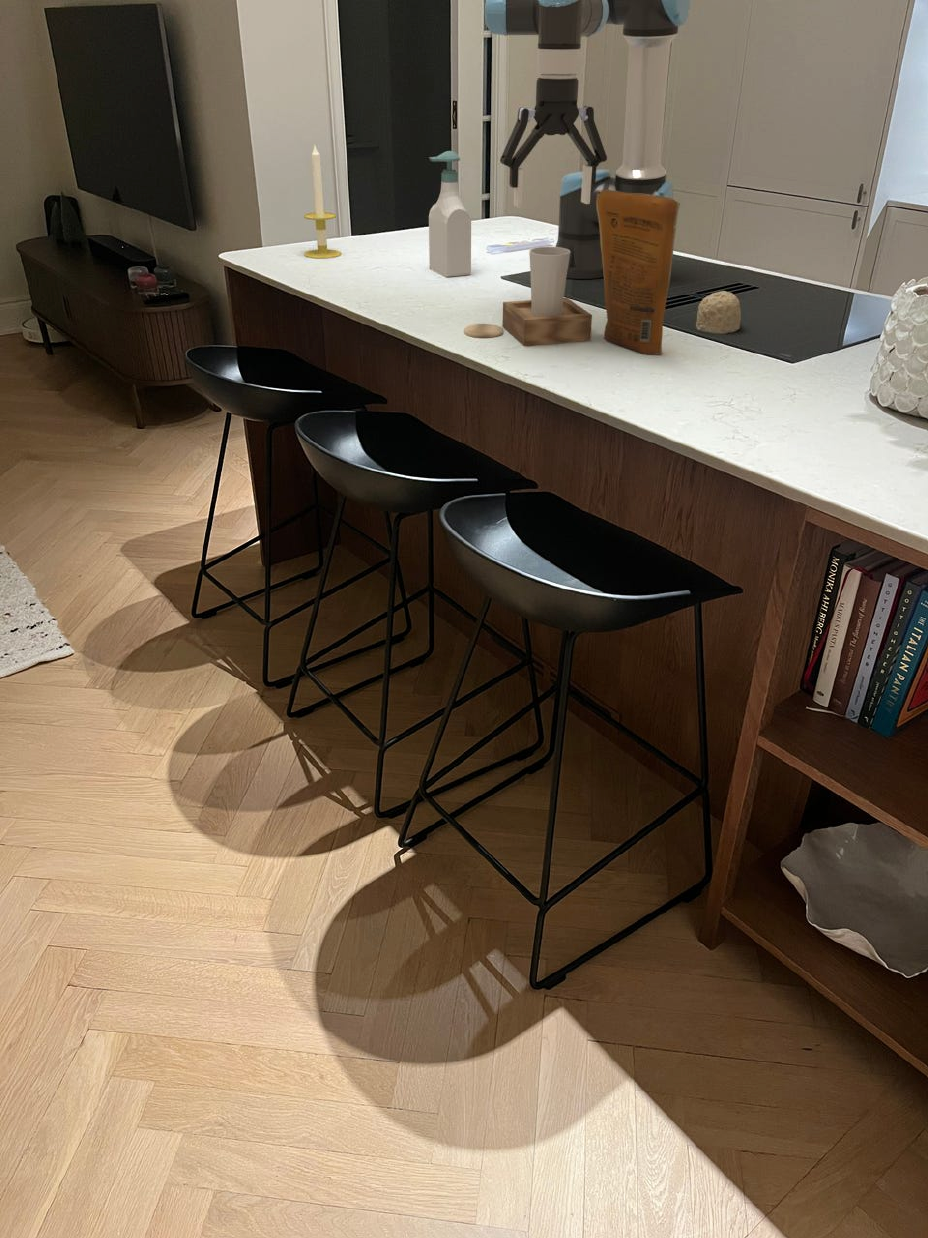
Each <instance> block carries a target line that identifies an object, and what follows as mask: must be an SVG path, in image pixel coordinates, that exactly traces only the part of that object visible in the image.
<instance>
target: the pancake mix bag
mask: <svg viewBox="0 0 928 1238" xmlns="http://www.w3.org/2000/svg"><path fill="white" fill-rule="evenodd" d="M596 206H597V213H598V219H599V228H600V242H601V251H602V262H603V273H604V277H603V283H604V302H605V310H606V319H607V321H606V324H605V328H604V334H603V336H604V337H603V339H604V341H606V342H608V343H611V344H615V345H617V346H620V347H624V348H626V349H629V350H631V351H633V352H636V353H639V354H642V355H643V354H644V355H663V334H664V333H663V330H664V329H663V328H664V327H663V325H664V324H663V323H664V319H665V318H664V317H665V312H666V307H667V306H666V305H667V304H666V303H667V299H668V292H669V286H670V282H671V275H672V274H671V273H672V263H673V258H674V255H673V254H674V245H675V239H676V234H677V233H676V232H677V224H678V223H677V222H678V216H679V215H678V214H679V210H680V206H681V203H680V202H678V201H676V200H675V199H674V198H673V199H671V198H667V197H662V196H656V195H649V194H640V193H624V192H619V191H612V190H602V191H601V193H600V195H599V194H597V200H596Z"/></svg>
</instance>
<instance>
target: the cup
mask: <svg viewBox="0 0 928 1238" xmlns="http://www.w3.org/2000/svg"><path fill="white" fill-rule="evenodd" d="M528 255H529V268H530V273H529V274H530V294H531V296H530V300H531V314H532V315H534V316H537V317H544V316H557V315H562V312H563V299H564V298H565V290H566V284H567V278H566V276H567V269H568V265H569V258H570V250H568V249H565V248H560V247H555V246H537V247H532V248H531V249H529V253H528Z"/></svg>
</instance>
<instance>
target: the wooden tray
mask: <svg viewBox="0 0 928 1238" xmlns="http://www.w3.org/2000/svg"><path fill="white" fill-rule="evenodd" d="M592 320H593V314H592V313H590V312H588V311H587V310H586V309H584V308H583V307H581V306H580V305H578V304H576V303H575V302H574V301H573V300H571V299H570V298H569V297H564V299H563V312H562V315H557V316H544V317H537V316H534V315H532V314H531V299H528V300H527V299H525V300H512V301H503V302H502V323H501V324H502V326H501V327H502V328H503V329H504V330H505V331H507V333H509V334H510V335H511V336H512V337H514V339H516V340H517V341H518V342H519V343H520V345H522V346H523V347H524V346H526V347H528V346H539V345H551V344H564V343H575V342H577V343H578V342H588V341H591V336H592V322H593V321H592Z"/></svg>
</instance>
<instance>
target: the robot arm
mask: <svg viewBox="0 0 928 1238" xmlns="http://www.w3.org/2000/svg"><path fill="white" fill-rule="evenodd" d="M690 5H691V0H485V6H484V17H485V18H484V20H485V25H486V27H487V28H488V31H489V32H490V33H491V34H492V35H499V36H504V37H507V36H537V38H538V39H537V41H538V42H537V59H536V60H537V62H536V63H537V64H536V73H537V74H538V75H539V76H540V77H538V78H537V79H536V83H535V106H534V109H528V108H524V107H520V108H518V111H517V119H516V122H515V125H514V127H513V129H512V131H511V134H510V136H509V139H508V140H507V143H506V145H505V147H504V150H503V152H502V154H501V157H500V159H499V161H500V164H502V165H504V166H506V167H508V168H509V187H511V188H512V189H513V206H514V207H516V208H518V209H519V208H522V207H523V190H524V189H523V185H524V184H523V183H524V169H523V168H521V167H520V166H522V164H523V163H524V161H525V160H526V159H527V158H528V155H530V153H531V152H532V150H533V149H534V148H535V147H536V145H537V144H538V142H540V141H539V140H541V139H543V137H544V136H545V135H547V136H556V135H560V136H565V135H567V136H568V137H570V139H571V141H572V143H573V144H574V145H575V147H576V148H577V149H578V151H579V153H580V154H581V155H582V157H583V158H584V160H585V162H586V163H587V164H583V165H582V171H577V172H576V171H575V172H571V173H568V174H565V175H564V176H563V177H562V180H561V182H560V183H561V184H560V190H559V191H560V193H559V207H558V208H559V209H558V226H557V227H558V228H557V229H558V230H557V231H558V232H557V233H558V234H557V241H556V244H555V246H554V247H560V248H565V249H568V250H570V258H569V265H568V269H567V276H566V279H576V280H589V279H592V280H593V279H600V278H604V273H603V262H602V251H601V242H600V228H599V219H598V213H597V206H596V200H597V194H599V195H600V193H601V191H602V190H612V191H619V192H624V193H640V194H649V195H656V196H662V197H667V198H671V199H674V184H673V182H670V180H667V170H666V169H665V167H664V166H662V164H661V162H662V161H661V159H662V148H663V147H662V146H663V135H664V134H663V133H664V123H665V108H666V95H667V86H668V85H667V84H668V69H669V60H670V58H669V57H670V46H671V45H670V44H671V43H672V42H673V40H674V39H675V38H676V37H677V36H678V35H679V27H680V26H683V25H684V24H686V22H687V20H688V17H689V10H690ZM605 25H616V26H617V25H619V26H621V25H622V37H623V38H624V39H625V41H626V42H627V43H628V45H629V47H628V61H627V62H628V65H627V66H628V67H627V80H626V81H627V83H626V96H625V97H626V98H625V99H626V101H625V102H626V103H625V117H624V136H623V137H624V139H623V152H622V153H623V155H622V164H621V165H620V166H619V168H617V170H616V171H615V175H614V176H615V177H612V174H611V171H610V169H597V167H598V166H599V165H600V164H601V163H604V162H606V161H607V160H608V156H607V154H606V150H605V147H604V145H603V142H602V140H601V137H600V134H599V131H598V127H597V126H596V122H595V112H594V111H595V110H594V108H593V106H589V105H584V106H583V107H578V97H579V96H578V95H579V80H578V78H577V77H576V76H577V75H579V74H580V64H581V63H580V62H581V43H582V37H583V38H584V37H586V38H588V37H591V36H593V35H596V34H597V33H599V32H600V31H601V30H602V29H603V28H604V27H605ZM578 117H579V118H580V120H582V121H583V125H584V127H585V131H586V133H587V135H588V139H589V142H590V144H591V148H592V150H593V152H592V150H591V148H590V147H589V146H588V144H587V142H586V141H585V139H584V138H583V136H582V135H581V133H580V131H579V130H578V127H576V125H575V122H576V121H577V120H578ZM532 118H533V119H534V121H535V123H536V124H535V125H534V127H533V128H532V129H531V131H530V134H529V135H528V136H527V138H526V139H525V140H524V142H523V143H522V145H520V147H519V144H520V141H521V140H522V137H523V135H524V133H525V131H526V128H527V125H528V123H530V122H531V119H532ZM518 147H519V149H518V150H517V148H518Z"/></svg>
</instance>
